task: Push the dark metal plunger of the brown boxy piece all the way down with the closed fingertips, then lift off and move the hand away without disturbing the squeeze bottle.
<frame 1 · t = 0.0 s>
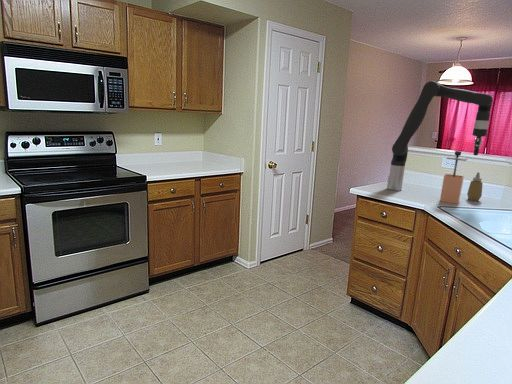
hand: (475, 154, 227), 29 cm above the countertop, tool pointing down, fingers open, 8 cm apart
squeeze bottle: (473, 200, 236), on the countertop
plunger: (455, 167, 225), point 21 cm above the countertop, slide at 10.0 cm
brown boxy piece: (449, 201, 229), on the countertop
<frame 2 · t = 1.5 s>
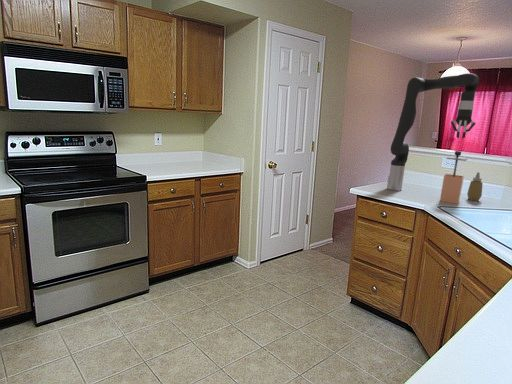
hand: (460, 138, 221), 39 cm above the countertop, tool pointing down, fingers closed
nothing on the countertop moved.
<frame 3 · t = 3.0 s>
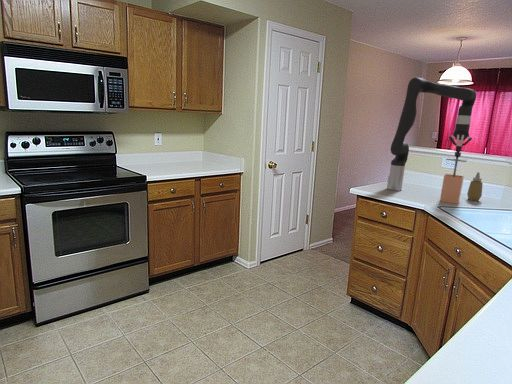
hand: (458, 152, 223), 31 cm above the countertop, tool pointing down, fingers closed
plunger: (455, 168, 225), point 21 cm above the countertop, slide at 9.3 cm, touching gripper
everything else where it was.
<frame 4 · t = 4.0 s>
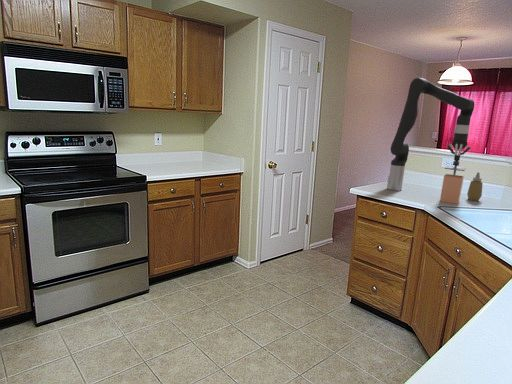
hand: (456, 161, 224), 25 cm above the countertop, tool pointing down, fingers closed
plunger: (453, 177, 226), point 15 cm above the countertop, slide at 3.8 cm, touching gripper
everything else where it was.
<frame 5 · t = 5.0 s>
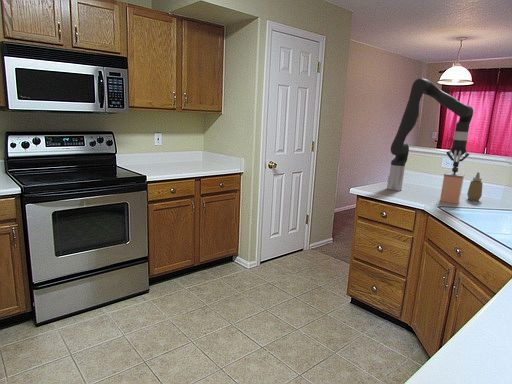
hand: (455, 167, 225), 21 cm above the countertop, tool pointing down, fingers closed
plunger: (452, 183, 227), point 11 cm above the countertop, slide at -0.1 cm, touching gripper
everything else where it was.
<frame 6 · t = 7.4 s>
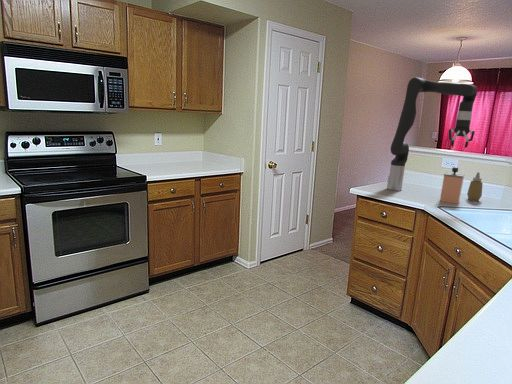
hand: (458, 147, 222), 34 cm above the countertop, tool pointing down, fingers open, 6 cm apart
plunger: (452, 183, 227), point 11 cm above the countertop, slide at -0.1 cm
everything else where it was.
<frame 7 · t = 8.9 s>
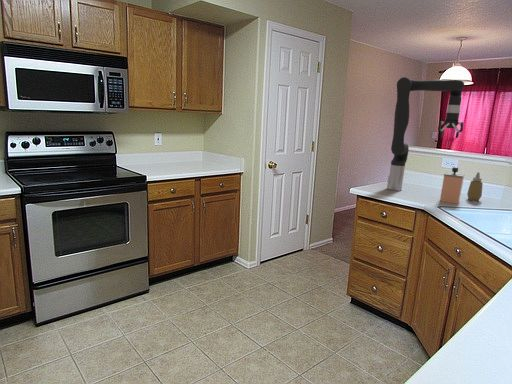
hand: (448, 137, 239), 38 cm above the countertop, tool pointing down, fingers open, 8 cm apart
nothing on the countertop moved.
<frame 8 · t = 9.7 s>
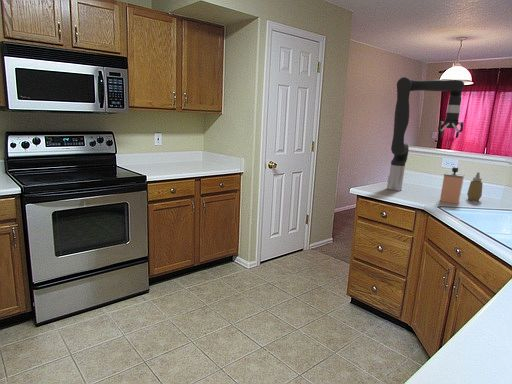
hand: (448, 137, 239), 38 cm above the countertop, tool pointing down, fingers open, 8 cm apart
nothing on the countertop moved.
at the end: plunger slide at -0.1 cm; squeeze bottle moved 0.2 cm from its start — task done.
